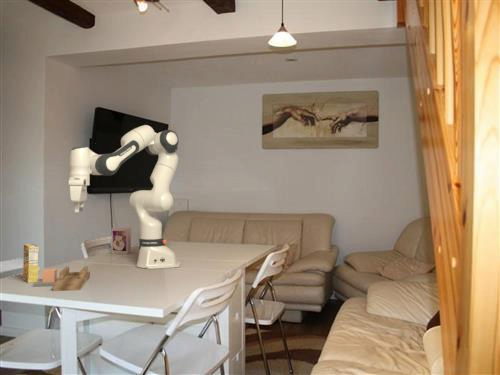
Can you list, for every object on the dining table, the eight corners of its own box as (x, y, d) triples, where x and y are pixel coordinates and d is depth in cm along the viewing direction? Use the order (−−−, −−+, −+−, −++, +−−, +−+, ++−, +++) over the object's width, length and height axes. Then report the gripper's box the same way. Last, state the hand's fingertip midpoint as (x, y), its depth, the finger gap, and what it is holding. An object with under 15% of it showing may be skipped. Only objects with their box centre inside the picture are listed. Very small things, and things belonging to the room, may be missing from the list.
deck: (90, 277, 193) (90, 264, 193) (80, 289, 169) (80, 275, 169) (66, 277, 191) (66, 265, 191) (53, 290, 167) (53, 276, 167)
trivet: (61, 281, 184) (61, 278, 184) (56, 285, 176) (56, 282, 176) (39, 281, 182) (39, 278, 182) (33, 286, 174) (33, 283, 174)
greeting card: (110, 252, 262) (110, 228, 262) (117, 251, 269) (118, 227, 269) (126, 253, 259) (127, 229, 259) (133, 252, 266) (133, 228, 266)
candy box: (22, 279, 186) (22, 244, 186) (33, 278, 189) (33, 243, 189) (28, 283, 179) (28, 246, 179) (38, 281, 182) (39, 245, 182)
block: (45, 279, 181) (45, 269, 181) (56, 279, 182) (56, 268, 182) (42, 282, 176) (42, 271, 176) (54, 281, 177) (54, 270, 177)
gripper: (76, 181, 207) (76, 210, 207) (67, 181, 187) (67, 213, 187) (90, 181, 208) (89, 210, 208) (82, 181, 188) (82, 213, 188)
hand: (79, 211), depth 197 cm, fingers open, 8 cm apart
